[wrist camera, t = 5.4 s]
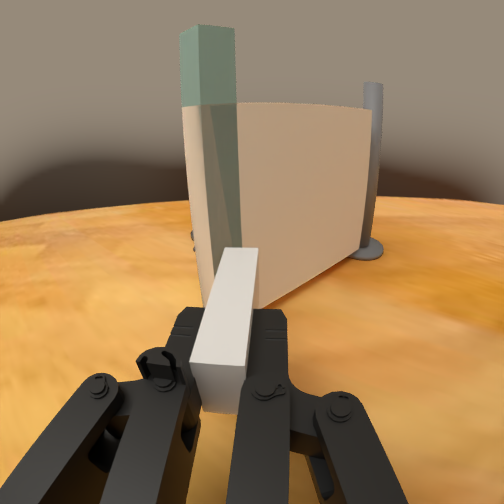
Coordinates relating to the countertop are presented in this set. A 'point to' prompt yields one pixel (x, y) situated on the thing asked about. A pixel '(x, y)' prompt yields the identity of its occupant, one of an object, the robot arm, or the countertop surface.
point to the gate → (273, 171)
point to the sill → (366, 251)
